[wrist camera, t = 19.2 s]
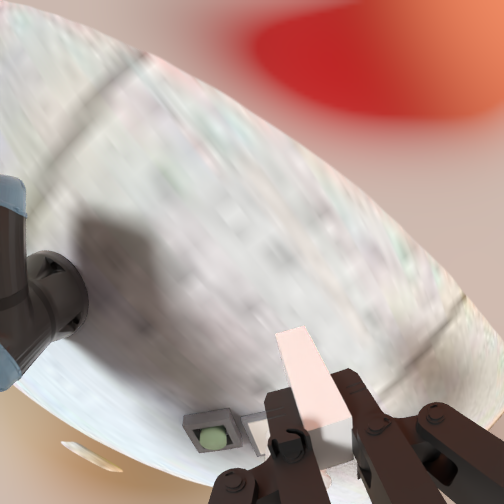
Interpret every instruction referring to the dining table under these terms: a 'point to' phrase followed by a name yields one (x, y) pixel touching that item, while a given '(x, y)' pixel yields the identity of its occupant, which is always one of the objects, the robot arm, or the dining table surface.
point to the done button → (213, 437)
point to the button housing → (210, 420)
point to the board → (256, 431)
